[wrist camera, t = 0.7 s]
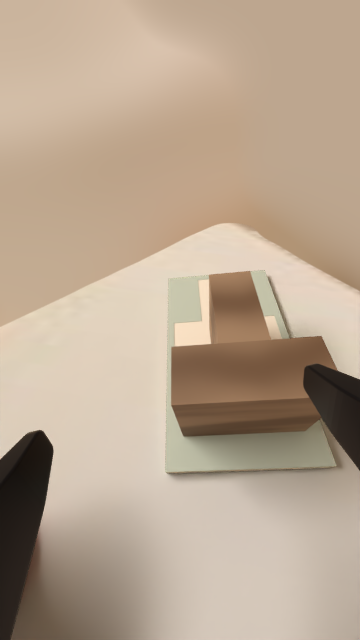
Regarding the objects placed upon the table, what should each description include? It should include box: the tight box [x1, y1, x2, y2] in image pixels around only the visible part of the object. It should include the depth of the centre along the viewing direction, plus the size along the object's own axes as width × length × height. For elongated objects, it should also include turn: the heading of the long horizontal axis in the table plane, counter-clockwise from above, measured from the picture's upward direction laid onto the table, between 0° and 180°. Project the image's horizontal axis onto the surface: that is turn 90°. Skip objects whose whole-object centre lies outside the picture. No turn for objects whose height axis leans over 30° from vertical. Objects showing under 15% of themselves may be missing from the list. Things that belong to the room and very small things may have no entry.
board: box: [165, 270, 336, 473], centre depth 26 cm, size 22×13×1 cm, turn 1°
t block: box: [171, 271, 338, 437], centre depth 20 cm, size 11×10×8 cm
